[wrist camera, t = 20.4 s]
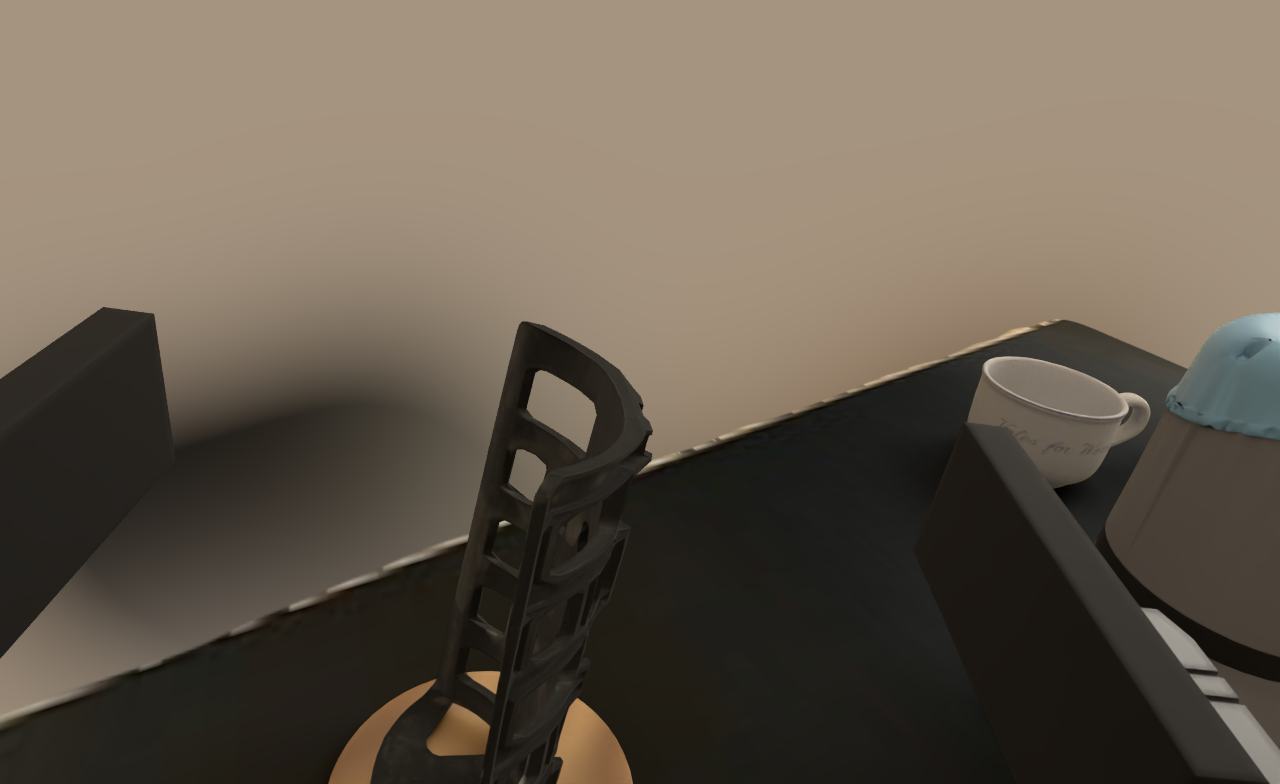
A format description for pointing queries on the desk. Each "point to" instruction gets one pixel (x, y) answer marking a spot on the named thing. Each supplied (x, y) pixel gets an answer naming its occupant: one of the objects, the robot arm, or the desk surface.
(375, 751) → the cork mat
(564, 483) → the holder
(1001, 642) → the robot arm
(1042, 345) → the desk surface
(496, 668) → the desk surface
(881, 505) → the desk surface
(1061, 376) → the teacup
